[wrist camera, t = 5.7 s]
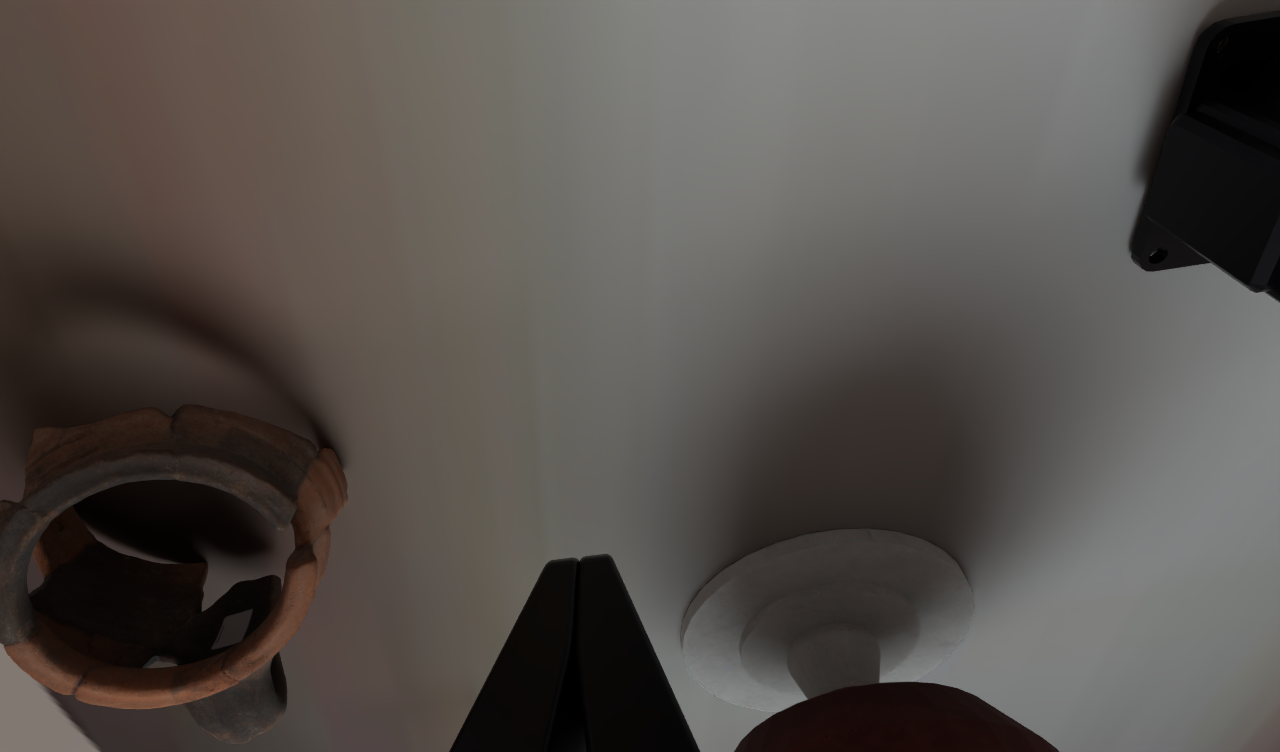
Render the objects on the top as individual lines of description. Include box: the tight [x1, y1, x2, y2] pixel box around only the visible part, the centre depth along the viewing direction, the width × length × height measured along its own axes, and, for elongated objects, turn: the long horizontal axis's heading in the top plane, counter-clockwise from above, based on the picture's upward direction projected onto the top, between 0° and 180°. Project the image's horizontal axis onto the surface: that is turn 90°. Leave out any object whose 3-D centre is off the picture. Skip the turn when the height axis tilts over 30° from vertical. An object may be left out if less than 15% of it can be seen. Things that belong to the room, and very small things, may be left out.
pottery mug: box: [0, 404, 348, 744], centre depth 23 cm, size 12×10×8 cm
